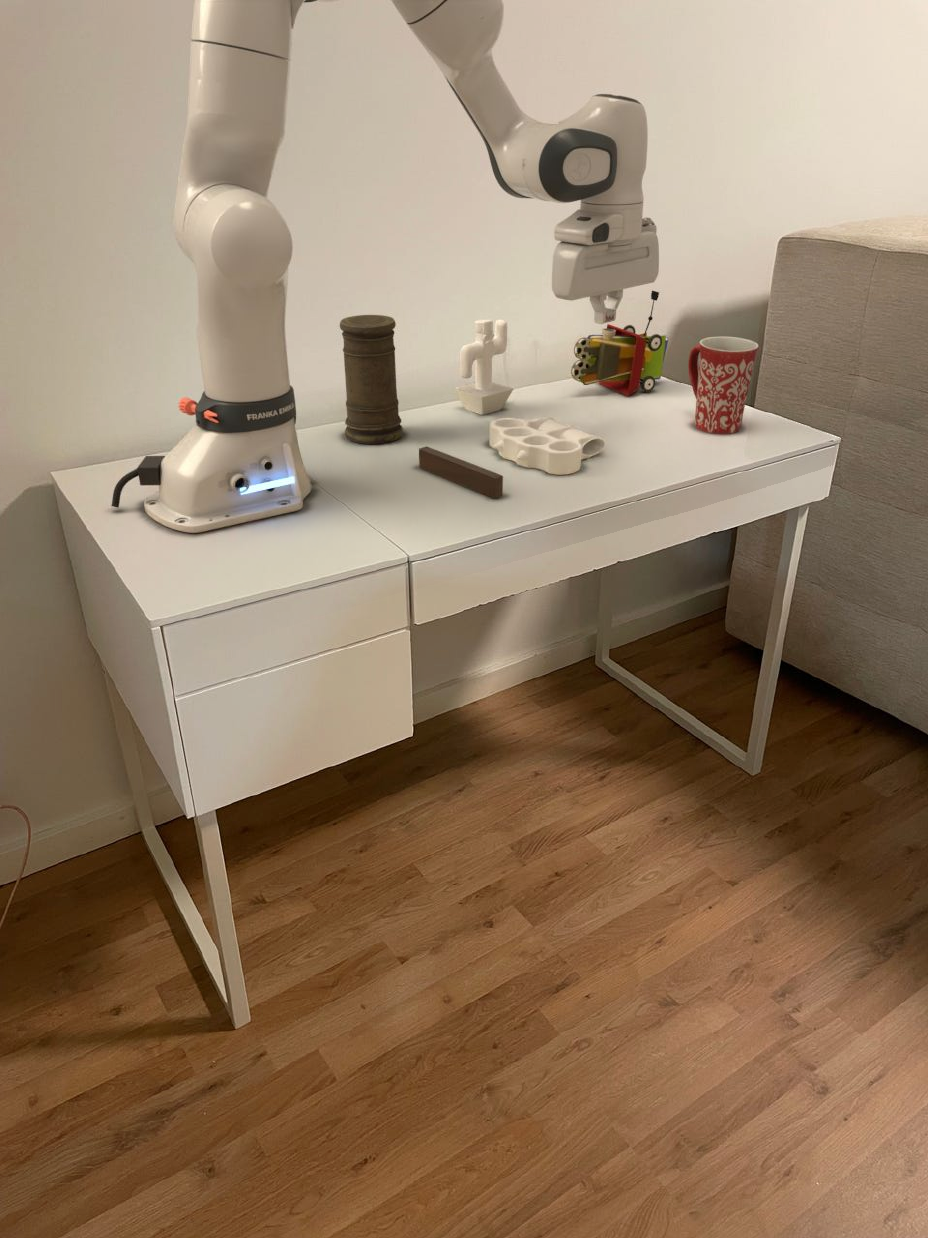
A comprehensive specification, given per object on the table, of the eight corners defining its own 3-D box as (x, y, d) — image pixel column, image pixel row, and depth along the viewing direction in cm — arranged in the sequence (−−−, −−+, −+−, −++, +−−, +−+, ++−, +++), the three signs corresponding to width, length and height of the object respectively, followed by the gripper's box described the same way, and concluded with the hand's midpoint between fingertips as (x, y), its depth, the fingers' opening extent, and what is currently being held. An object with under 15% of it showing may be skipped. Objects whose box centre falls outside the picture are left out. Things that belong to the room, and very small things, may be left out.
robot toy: (675, 393, 177) (584, 399, 168) (645, 381, 184) (555, 385, 175) (693, 296, 169) (598, 296, 160) (660, 286, 176) (567, 286, 167)
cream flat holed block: (618, 460, 144) (542, 482, 137) (541, 428, 157) (467, 446, 150) (620, 438, 143) (542, 459, 135) (542, 408, 155) (467, 425, 148)
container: (412, 437, 154) (409, 321, 145) (362, 448, 149) (355, 329, 140) (384, 422, 160) (378, 310, 151) (335, 433, 156) (327, 318, 147)
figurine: (448, 410, 166) (447, 320, 158) (489, 399, 171) (490, 311, 164) (476, 420, 161) (477, 328, 154) (517, 408, 166) (520, 318, 159)
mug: (758, 431, 156) (771, 346, 149) (712, 439, 152) (723, 352, 146) (709, 409, 165) (719, 328, 159) (665, 416, 162) (673, 334, 155)
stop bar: (494, 499, 132) (495, 478, 130) (419, 467, 142) (418, 448, 140) (502, 496, 132) (503, 475, 131) (427, 465, 143) (426, 445, 141)
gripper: (639, 213, 147) (632, 307, 154) (545, 228, 135) (542, 329, 142) (673, 217, 143) (664, 314, 149) (579, 233, 131) (575, 337, 138)
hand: (604, 321), depth 146 cm, fingers closed
